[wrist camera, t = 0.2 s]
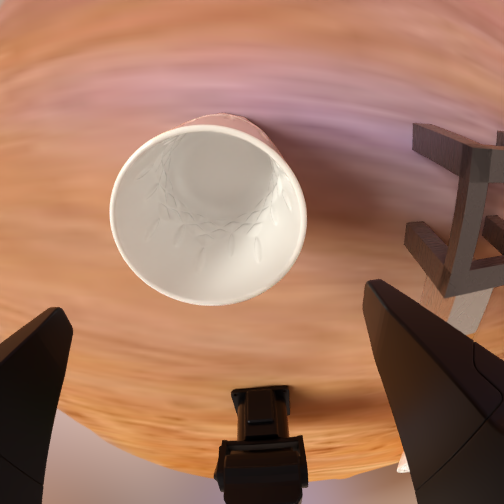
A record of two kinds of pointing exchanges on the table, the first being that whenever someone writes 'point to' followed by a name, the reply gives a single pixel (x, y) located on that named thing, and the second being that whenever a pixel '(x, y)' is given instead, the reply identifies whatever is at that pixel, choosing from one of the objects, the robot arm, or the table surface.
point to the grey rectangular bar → (457, 307)
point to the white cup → (209, 212)
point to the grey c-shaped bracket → (460, 214)
